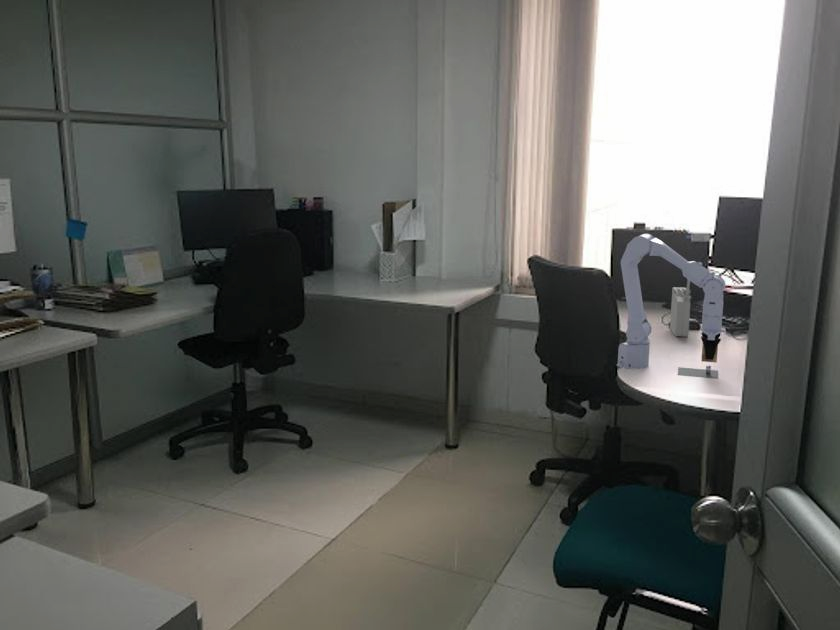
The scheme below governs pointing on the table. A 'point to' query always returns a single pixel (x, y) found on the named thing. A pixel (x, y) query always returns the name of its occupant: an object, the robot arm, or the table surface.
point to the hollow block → (709, 359)
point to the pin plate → (697, 372)
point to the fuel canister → (680, 311)
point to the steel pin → (708, 369)
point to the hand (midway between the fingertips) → (709, 357)
